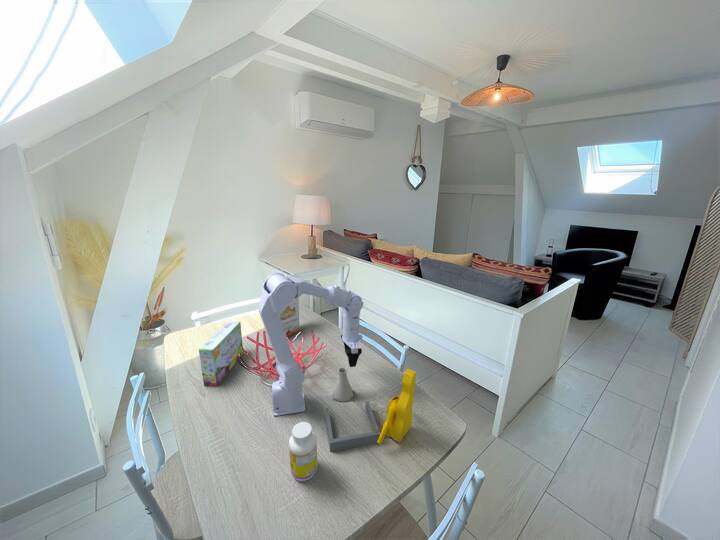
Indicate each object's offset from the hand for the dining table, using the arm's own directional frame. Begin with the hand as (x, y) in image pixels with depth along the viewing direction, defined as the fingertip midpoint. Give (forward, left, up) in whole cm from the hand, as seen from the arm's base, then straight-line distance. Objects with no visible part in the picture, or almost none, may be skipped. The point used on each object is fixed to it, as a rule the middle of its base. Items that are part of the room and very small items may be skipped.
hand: (350, 359), depth 101 cm
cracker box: (-24, +39, -9) cm, 46 cm away
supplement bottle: (-18, -30, -9) cm, 37 cm away
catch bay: (-4, -20, -9) cm, 23 cm away
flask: (-4, -6, -9) cm, 12 cm away
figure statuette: (+9, -25, -9) cm, 28 cm away
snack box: (-46, +18, -9) cm, 50 cm away
